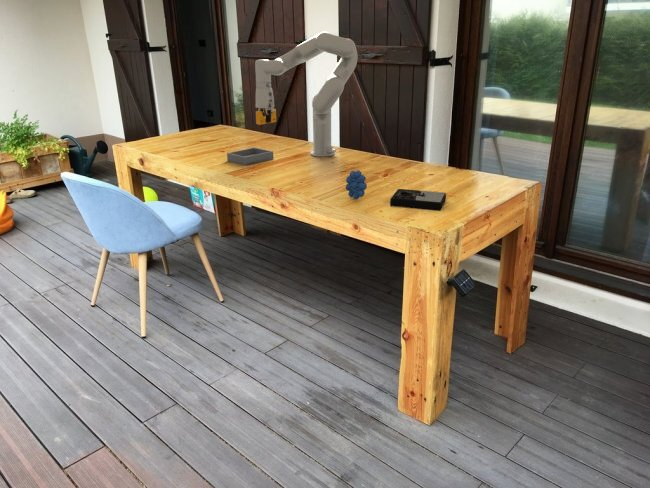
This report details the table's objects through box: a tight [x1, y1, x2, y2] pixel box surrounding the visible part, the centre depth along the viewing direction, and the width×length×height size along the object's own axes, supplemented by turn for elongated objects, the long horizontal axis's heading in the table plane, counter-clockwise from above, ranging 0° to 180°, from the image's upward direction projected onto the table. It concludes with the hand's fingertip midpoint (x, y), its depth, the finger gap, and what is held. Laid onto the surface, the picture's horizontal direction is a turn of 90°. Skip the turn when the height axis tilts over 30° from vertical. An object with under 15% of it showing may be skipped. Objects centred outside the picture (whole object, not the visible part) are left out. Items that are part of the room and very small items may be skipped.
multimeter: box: [389, 188, 447, 212], centre depth 202 cm, size 13×19×5 cm
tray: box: [226, 146, 274, 166], centre depth 271 cm, size 15×18×4 cm
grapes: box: [345, 169, 368, 200], centre depth 207 cm, size 12×7×12 cm, turn 37°
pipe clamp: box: [255, 108, 277, 126], centre depth 273 cm, size 12×4×6 cm, turn 141°
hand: (265, 121), depth 274 cm, fingers closed on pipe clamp, 4 cm apart
